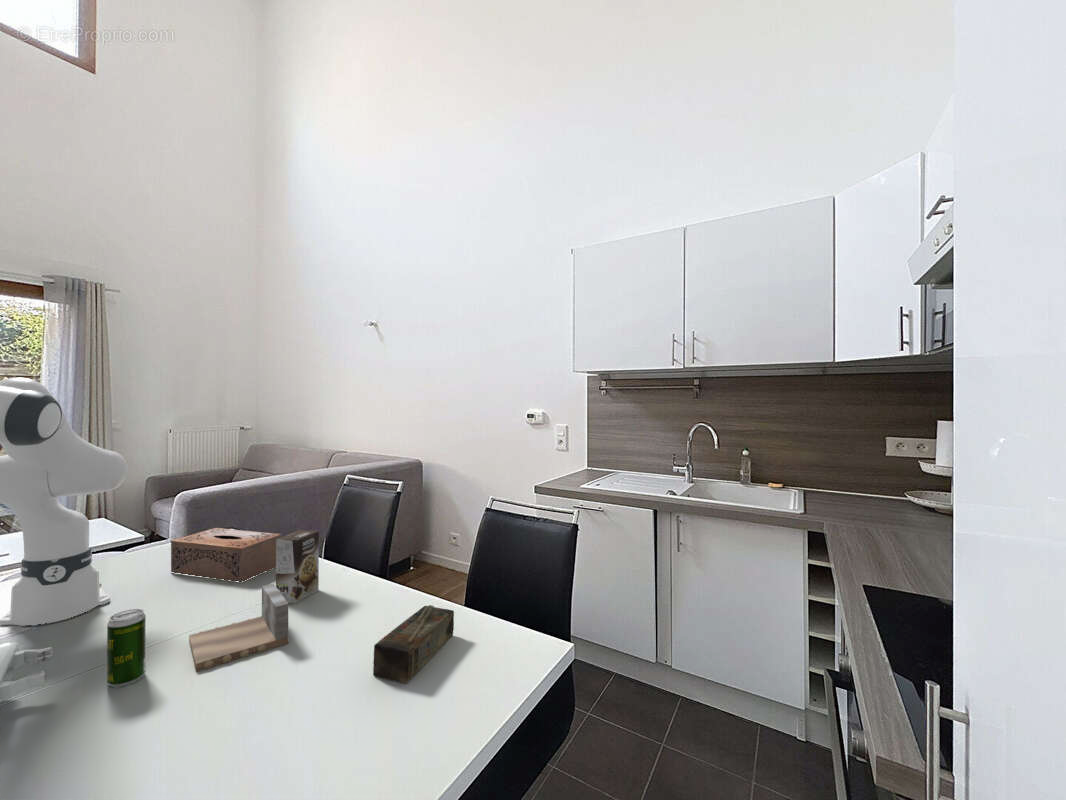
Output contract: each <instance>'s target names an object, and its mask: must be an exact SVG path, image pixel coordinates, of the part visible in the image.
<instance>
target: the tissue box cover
mask: <svg viewBox="0 0 1066 800" xmlns="http://www.w3.org/2000/svg"><path fill="white" fill-rule="evenodd" d="M281 537H282V533H271V532H260V531H253V530H251V531H250V530H240V529H231V528H221V527H214V528H211V529H207V530H204V531H200V532H196V533H193V534H190V535H187V536H183V537H178V538H176V539H173V540H171V541H170V573H171V572H174V573H181V574H188V575H195V576H202V577H209V578H216V579H224V580H231V581H239V582H242V581H245V580H247V579H249V578H251V577H253V576H256V575H258V574H260V573H263V572H265V571H267V572H269V571H268V570H270V569H272V568H274V569H276V568H275V567H276V539H278V538H281ZM272 570H273V569H272ZM270 571H271V570H270ZM265 573H266V572H265ZM263 574H264V573H263ZM258 576H259V575H258ZM256 577H257V576H256ZM249 580H250V579H249ZM247 581H248V580H247ZM245 582H246V581H245ZM242 583H243V582H242Z"/></svg>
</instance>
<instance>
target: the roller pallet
mask: <svg viewBox="0 0 1066 800" xmlns="http://www.w3.org/2000/svg"><path fill="white" fill-rule="evenodd" d="M188 640H189V641H188V642H189V648H190V652H191V656H192V660H193V661H192V662H193V665H194V670H195V672H199V671H203V670H205V669H207V670H208V669H210V668H212V667H215V666H219V665H221V664H222V665H223V664H228V663H229V662H231V661H235V659H236V660H238V658H239V659H242V658H243V659H244V657H245V658H247V657H248V655H249V656H251V655H250V654H252V655H255V654H258V653H257V652H259V653H264V652H266V651H269V650H271V649H274V648H278V647H281V645H282V646H284V645H289V603H288V602H287V601H286V600H285V598H284V597H283V596H282V594H281V593H280V592H279V590H278V589H277V588H276V584H274V583H270V584H265V585H262V586H261V616H257V617H254V618H248V619H246V620H242V621H239V622H232V623H230V624H226V625H222V626H219V627H218V626H217V627H215V628H212V629H207V630H204V631H199V632H195V633H193V634H189V635H188ZM268 649H269V650H268ZM254 653H255V654H254Z"/></svg>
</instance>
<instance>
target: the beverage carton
mask: <svg viewBox="0 0 1066 800" xmlns="http://www.w3.org/2000/svg"><path fill="white" fill-rule="evenodd" d="M454 616H455V611H454V610H453V609H448V608H442V607H441V608H440V607H436V606H434V605H432V604H429V605H424V606H423V607H421V608H420V609H419V610H417V611H416V612H415V613H413V614H412V615H411V616H409V617H408V618H407V619H405V620H404V621H403V622H402V623H400V624H399V625H397V627H395V628H394V629H392V630H391V631H390V632H389V633H387V634H386V635H384V636H383V637H382V638H381V639H379V640H378V641H377V642H376V643H375V644H374V646H373V667H372V670H373V671H372V672H373V673H372V675H373V676H374V677H378V678H380V679H381V678H382V679H387V680H390V681H392V682H393V681H394V682H398V683H403V684H405V685H406V684H408V683H409V682H410V681H411V680H413V678H414V677H415V676H416V675H417V674H418V673H419V672H420V671H421V670H422V669H423V668H424V666H425V665H427V663H428V662H429V661H430V660H431V659H432V658H433V657H434V656H435V655H436V654H437V653H439V651H440V650H441V649H442V647H444V646H445V645H446V644H447V643H448V641H449V640H450V639H452V637H453V636H454V630H455V623H454V622H455V620H454V619H455V617H454Z"/></svg>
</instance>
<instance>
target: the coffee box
mask: <svg viewBox="0 0 1066 800" xmlns="http://www.w3.org/2000/svg"><path fill="white" fill-rule="evenodd" d="M319 548H320V531H319V530H301V529H299V530H297V531H294V532H292V533H289V534H286V535H284V536H281V538H278V539H276V568H275V586H276V588H277V589H278V590H279V592H280V593H281V594H282V596H283V597H284V598H285V600H286V601H287V602H288V604H289V603H290V604H298V603H299V602H301V601H303V600H304V599H305V597H306V598H307V597H309V596H310V594H311V595H312V594H314V593H316V592H318V591H319V578H320V577H319V576H320V575H319V574H320V573H319V572H320V571H319V569H320V568H319V567H320V566H319V565H320V564H319V563H320V560H319V559H320V557H319V556H320V555H319V554H320V553H319V552H320V551H319V550H320V549H319ZM315 591H316V592H315ZM313 592H314V593H313ZM308 595H309V596H308Z"/></svg>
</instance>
